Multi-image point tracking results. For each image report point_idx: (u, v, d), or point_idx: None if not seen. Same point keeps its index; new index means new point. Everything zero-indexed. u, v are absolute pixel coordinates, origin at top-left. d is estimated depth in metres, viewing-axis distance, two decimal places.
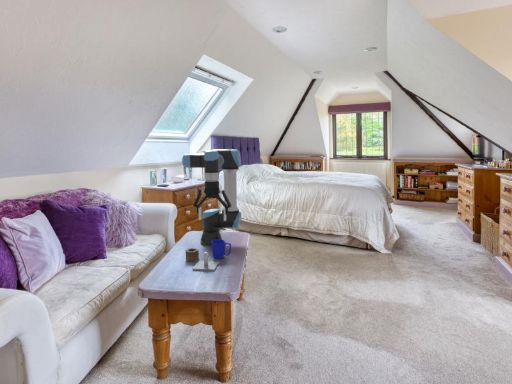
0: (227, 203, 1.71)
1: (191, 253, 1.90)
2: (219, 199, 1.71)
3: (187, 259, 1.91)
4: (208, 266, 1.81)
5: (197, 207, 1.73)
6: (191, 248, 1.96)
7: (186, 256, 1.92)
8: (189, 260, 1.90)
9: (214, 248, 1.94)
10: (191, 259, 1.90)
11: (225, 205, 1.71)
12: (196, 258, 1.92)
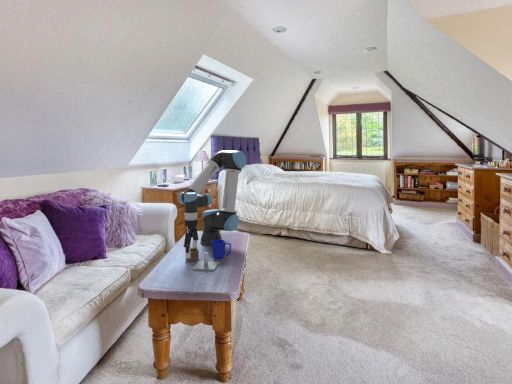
0: None
1: (191, 253, 1.90)
2: None
3: (187, 259, 1.91)
4: (208, 266, 1.81)
5: (193, 239, 2.00)
6: (191, 248, 1.96)
7: None
8: (189, 260, 1.90)
9: (214, 248, 1.94)
10: (191, 259, 1.90)
11: None
12: (196, 258, 1.92)
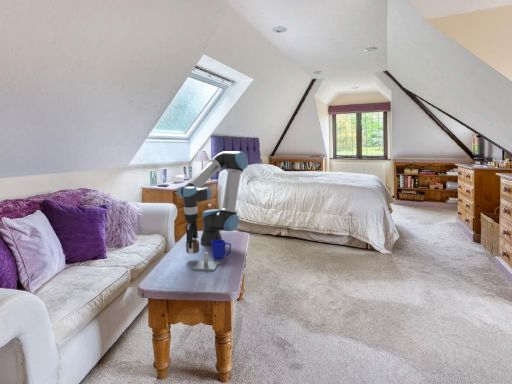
0: (187, 238, 1.86)
1: None
2: None
3: (188, 251, 1.91)
4: (208, 266, 1.81)
5: (192, 237, 1.97)
6: None
7: (186, 248, 1.92)
8: None
9: (214, 248, 1.94)
10: None
11: None
12: (197, 250, 1.92)
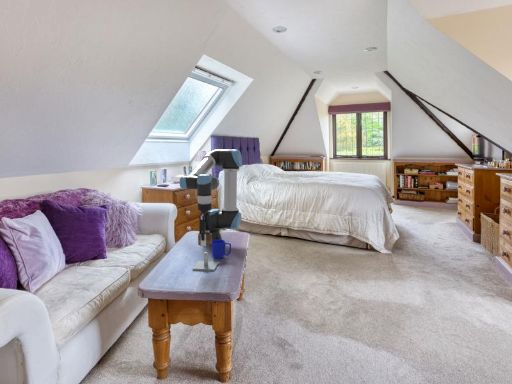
0: None
1: None
2: None
3: (200, 243, 1.78)
4: (208, 266, 1.81)
5: None
6: None
7: (199, 240, 1.79)
8: None
9: (214, 248, 1.94)
10: None
11: None
12: (209, 242, 1.78)
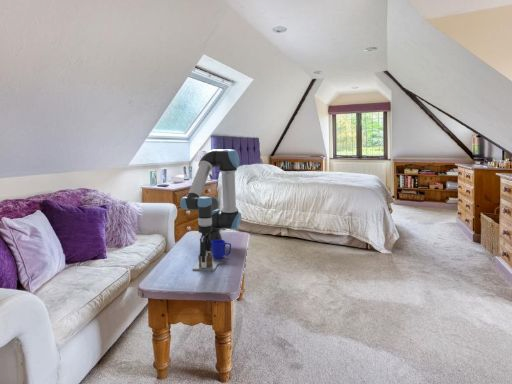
0: (200, 251, 1.75)
1: None
2: None
3: (200, 264, 1.80)
4: None
5: (205, 250, 1.87)
6: None
7: (199, 261, 1.81)
8: None
9: (214, 248, 1.94)
10: None
11: None
12: (210, 263, 1.80)
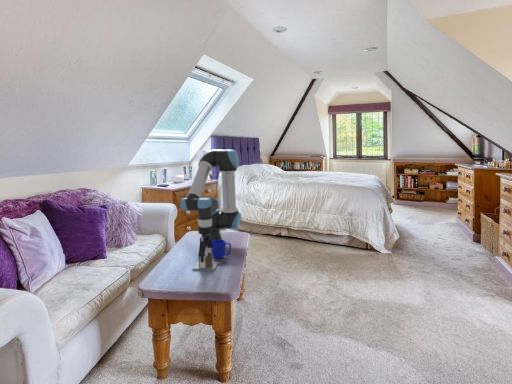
0: (199, 251, 1.73)
1: (205, 258, 1.78)
2: None
3: None
4: None
5: (207, 246, 1.89)
6: None
7: (199, 261, 1.81)
8: None
9: (214, 248, 1.94)
10: (205, 264, 1.79)
11: None
12: (210, 263, 1.80)
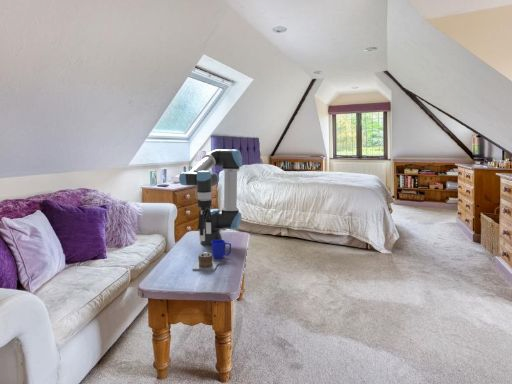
0: None
1: (205, 258, 1.78)
2: None
3: (200, 264, 1.80)
4: None
5: None
6: None
7: (199, 261, 1.81)
8: (202, 265, 1.79)
9: (214, 248, 1.94)
10: (205, 264, 1.79)
11: None
12: (210, 263, 1.80)
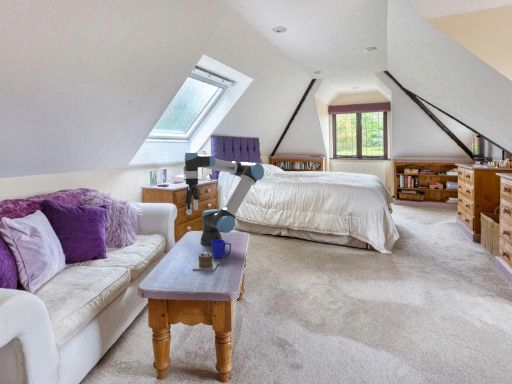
0: (186, 199, 1.91)
1: (205, 258, 1.78)
2: None
3: (200, 264, 1.80)
4: None
5: (194, 198, 2.07)
6: None
7: (199, 261, 1.81)
8: (202, 265, 1.79)
9: (214, 248, 1.94)
10: (205, 264, 1.79)
11: None
12: (210, 263, 1.80)
